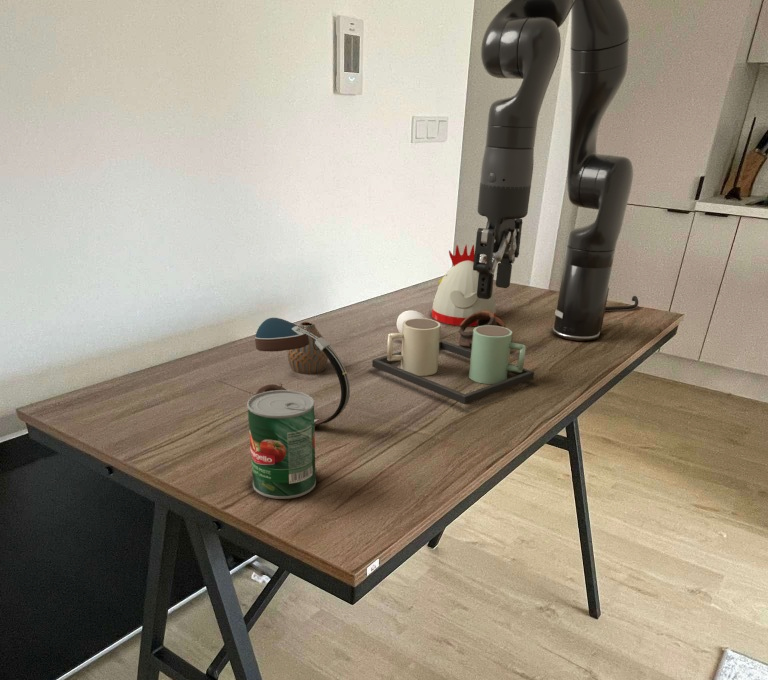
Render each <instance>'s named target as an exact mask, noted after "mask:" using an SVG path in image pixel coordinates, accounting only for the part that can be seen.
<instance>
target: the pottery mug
mask: <svg viewBox="0 0 768 680" xmlns="http://www.w3.org/2000/svg"><path fill="white" fill-rule="evenodd" d="M476 320H477V325H478V326H485V325H492V326H500V327H504V328H507V325H506V323H505V322H504V321H503V320H502V319H500V318H499V317H497V316H496V315H495V316H494V314H493V313H492V312H490V311H480V312H476V313H474V314H472V315H470V316H469V317H467V318H466V319H465V320H464V321H463V322H462V323H461V324H460V326H459V327H460V328H459V329H458V333H459V335H458V346H460V347H468V348H470V347H472V338H473V331H471V332H470V331H469V332H467V331H465V330H467V328H468V327H470V326H469V325H470V324H472V323H474V322H476ZM478 326H477V327H478ZM507 329H508V328H507Z"/></svg>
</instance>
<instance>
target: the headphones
mask: <svg viewBox="0 0 768 680" xmlns="http://www.w3.org/2000/svg"><path fill="white" fill-rule="evenodd" d="M308 333H309V332H307V331H306V330H304V329H303V328H301V327H299V325H297V324H295V323H293V322H291V321H288V320H286V319H283V318H279V317H269V318H266V319H265V320H264V321H262V323H261V324H260V325H259V326H258V327H257V330H256V332H255V335H254V342H255V343H254V344H255V348H256V350H257V351H260V352H273V353H275V352H283V351H287V350H293V349H298V348H302V347H305V346H307V345H308V344H309V338H308V335H309V336H311V337H312V340H313V338H314V339H315V340H316V341H315V344H316V345H317V346H318V347H319V348H318V349H320V350H321V351H323V352H324V353H325V355H326V356H327V358H328V361H329V362H330V364H331V366H332V367H333V370H334V372H335V374H336V376H337V378H338V382H339V387H340V401H339V403H338V406H337V408H336V410H335V412H334V413H333V414H332V415H330V416H328V417H326V418H324V419H321V420H320V419H319V418H316V419H314V422H315V424H314V427H317V426H322V425H325V424H328V423H330V422H332V421H333V420H335V419H336V418H338V417H340V416H341V414H342V413H343V412H344V410H345V409H346V408H347V405H348V403H349V400H350V396H351V386H350V379H349V376H348V371H346V367H345V366H344V364H343V362H342V361H341V358H340V357H339V356H338V354H337V353H336V352H335V351H334V349H333V348H332V347H331V342H329V341H328V340H327V339H325V338H324V337H323V338H324V339H323V338H322V337H321V338H318V337H316V336H315V335H313V334H311V333H309V334H308ZM313 336H314V337H313ZM315 337H316V338H317V339H316V338H315ZM313 346H314V341H313ZM314 349H315V347H314ZM318 349H315V350H318ZM218 382H220V383H223V384H224V385H225V384H226V385H227V386H230V387H233V388H236V389H238V390H241V391H243V392H245V393H249V394H253V396H255V395H257V394H260V393H263V392H268V391H275V390H287V389H286V388H285V387H283V386H281V385H277V384H266V385H264V386H261V387H260V388H259V389H258V390H256V392H255V393H252V392H249V391H247V390H244V389H241V388H239V387H236V386H234V385H231V384H229V383H226V382H223V381H219V380H218Z"/></svg>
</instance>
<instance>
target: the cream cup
mask: <svg viewBox="0 0 768 680" xmlns="http://www.w3.org/2000/svg"><path fill="white" fill-rule="evenodd" d="M441 327H442V325H441V322H440V321H437V320H436V319H430V318H427V319H423V318H415V319H408V320H405V321H404V322H403V326H402V333H399V332H390V333H388V334H387V347H386V356H387V360H388V361H396V360H400V369H403V370H405V371H408V372H410V373H413V374H415V375H418V376H420V377H427V376H432V375H435V374H436V373H438V370H439V356H440V355H439V354H440V349H439V343H440V341H441V340H440V339H441ZM396 339H401V351H400V352H401V355H393V354H394V353H393V351H394V350H393V349H394V340H396ZM396 362H397V361H396Z"/></svg>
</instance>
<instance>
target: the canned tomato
mask: <svg viewBox="0 0 768 680" xmlns="http://www.w3.org/2000/svg"><path fill="white" fill-rule="evenodd" d="M246 407H247V413H248V414H247V416H248V417H247V420H248V432H249V445H250V459H251V475H252V488H253V489H254V491H255V492H256V493H257V494H259V495H261V496H263V497H265V498H268V499H269V498H270V499H275V500H287V499H288V500H289V499H295V498H299V497H302V496H305V495H307V494H309V493H311V491H312V490H314V488H315V487H316V484H317V479H316V439H315V437H316V434H315V433H316V432H315V429H316V428H315V427H316V426H315V427H314V424H315V422H314V420H315V400H314V398H313V397H312V396H311V395H309V394H307V393H304V392H302V391H298V390H297V391H296V390H291V389H290V390H289V389H286V390H275V391H268V392H263V393H260V394H257V395H253V396H251V397H250V398H249V399H248V400H247V402H246Z"/></svg>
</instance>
